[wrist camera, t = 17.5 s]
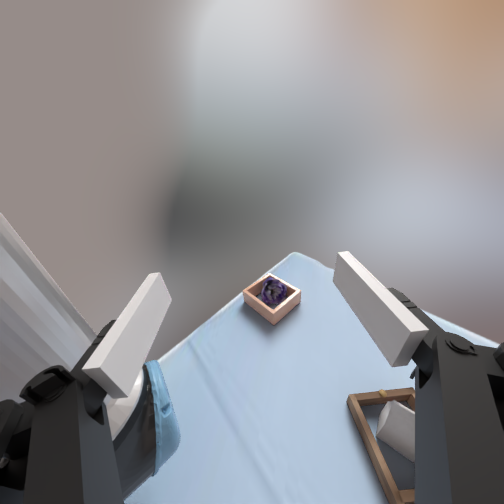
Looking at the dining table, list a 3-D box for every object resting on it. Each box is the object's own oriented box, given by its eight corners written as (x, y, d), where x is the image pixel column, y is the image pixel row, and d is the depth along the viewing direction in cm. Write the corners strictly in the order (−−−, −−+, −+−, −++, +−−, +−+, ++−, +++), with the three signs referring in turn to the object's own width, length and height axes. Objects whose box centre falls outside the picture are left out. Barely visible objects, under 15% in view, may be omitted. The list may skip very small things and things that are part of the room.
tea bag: (426, 471, 29) (456, 452, 23) (375, 436, 32) (392, 413, 27) (426, 445, 31) (453, 422, 26) (379, 414, 35) (394, 390, 30)
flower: (250, 277, 64) (268, 278, 56) (269, 276, 69) (288, 277, 61) (250, 304, 63) (269, 309, 55) (269, 301, 68) (289, 305, 60)
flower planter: (274, 325, 54) (273, 313, 51) (244, 301, 63) (242, 290, 61) (300, 301, 61) (301, 290, 58) (270, 283, 70) (269, 272, 68)
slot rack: (623, 713, 16) (663, 731, 14) (484, 730, 16) (507, 750, 14) (407, 393, 37) (412, 385, 35) (346, 400, 37) (349, 393, 35)
